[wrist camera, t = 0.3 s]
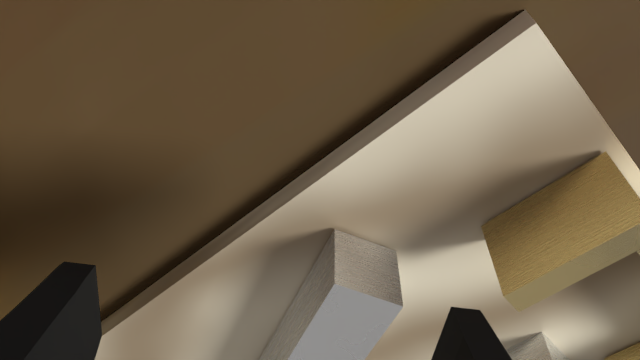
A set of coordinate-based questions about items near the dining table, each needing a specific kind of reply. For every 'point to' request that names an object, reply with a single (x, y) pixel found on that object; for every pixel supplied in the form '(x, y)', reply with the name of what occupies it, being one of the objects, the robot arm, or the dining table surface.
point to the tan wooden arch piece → (565, 235)
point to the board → (409, 221)
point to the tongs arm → (340, 303)
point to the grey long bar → (536, 349)
